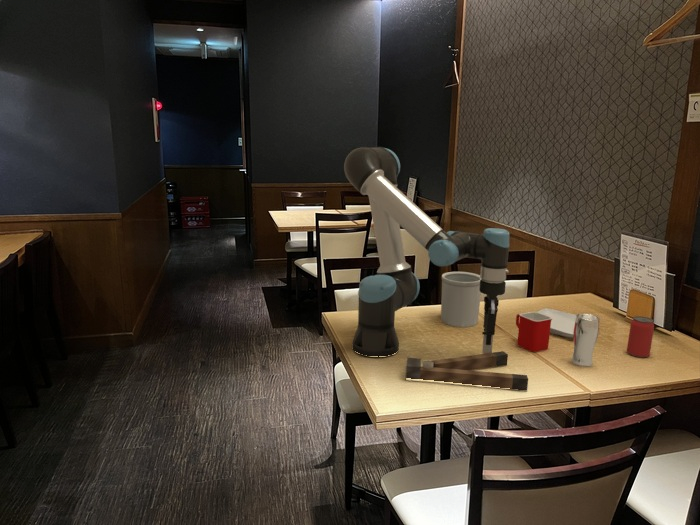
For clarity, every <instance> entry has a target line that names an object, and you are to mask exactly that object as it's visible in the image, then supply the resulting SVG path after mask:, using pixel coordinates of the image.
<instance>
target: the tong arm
mask: <svg viewBox="0 0 700 525" xmlns="http://www.w3.org/2000/svg"><path fill="white" fill-rule="evenodd" d="M508 358H509V354H508V353H506V352H505V351H504V350H502V351H495V352H494V351H492V353H486V354H483V353H479V354H473V355H472V354H471V355H465V356H464V355H463V356H457V357H449V358H441V359H435V360H431V361H432V362H433V367H436V368H447V369H459V370H471V371H476V370H483V369H488V368H489V369H491V368H498V367H504V366H508V360H509V359H508ZM475 369H476V370H475Z"/></svg>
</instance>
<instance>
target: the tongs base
mask: <svg viewBox="0 0 700 525" xmlns="http://www.w3.org/2000/svg"><path fill="white" fill-rule="evenodd" d="M406 378H411V379H423V380H434V381H444V382H453V383H462V384H472V385H482V386H491V387H500V388H510V389H518V390H517V391H520V390H527V391H528V388H529V387H528V384H529V378H528V375H527V374H519V373H506V372H504V373H503V372H493V371H483V370H482V371H480V370H459V369H447V368H436V367H433V362H432V360H423V361H422V358H419V357H417V358H416V357H407V359H406V367H405V379H406ZM510 389H509V390H510Z"/></svg>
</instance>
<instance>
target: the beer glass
mask: <svg viewBox="0 0 700 525" xmlns="http://www.w3.org/2000/svg"><path fill="white" fill-rule="evenodd" d="M575 315H576V319H575V323H574V331H573V337H572V338H573V355H572V357H571V360H570V361H571V364H573V365H575V366H579V367H583V368H584V367H585V368H586V367H587V368H588V367H593V353H594V349H595V346H596V343H597V341H598V338H599V332H600V322H599V321H600V317H599V316H598V315H595V314H591V313H586V312H585V313H576V314H575Z"/></svg>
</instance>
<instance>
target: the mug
mask: <svg viewBox="0 0 700 525" xmlns="http://www.w3.org/2000/svg"><path fill="white" fill-rule="evenodd" d="M519 319H520V320H519ZM551 320H552V317H550V316H547V315H544V314H542V313H539V312H537V311H528V312H522V313H518V314H516V317H515V326H516V327H517V328H518V332H517V333H518V334H517V340H516V341H517V342H516V343H517V344H516V345H517V346H518V347H520V348H523V349H524V350H526V351H528V352H532V353H537V352H541V351H545V350H546V351H547V350H548V349H549V344H550V336H551V333H550V327H551Z"/></svg>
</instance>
